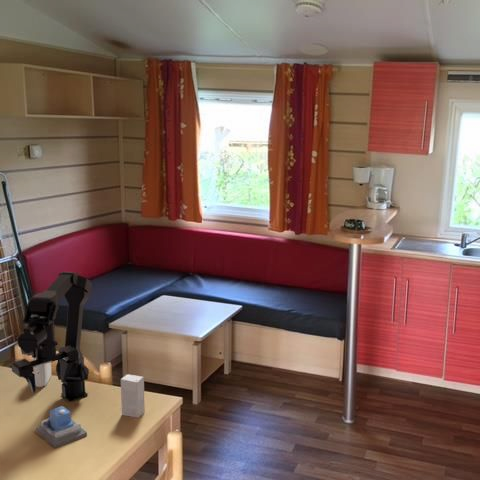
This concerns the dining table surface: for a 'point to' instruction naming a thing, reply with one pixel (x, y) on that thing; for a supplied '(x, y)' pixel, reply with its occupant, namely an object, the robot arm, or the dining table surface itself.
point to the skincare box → (132, 395)
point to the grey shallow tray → (60, 433)
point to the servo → (60, 418)
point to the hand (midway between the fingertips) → (48, 387)
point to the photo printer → (42, 374)
